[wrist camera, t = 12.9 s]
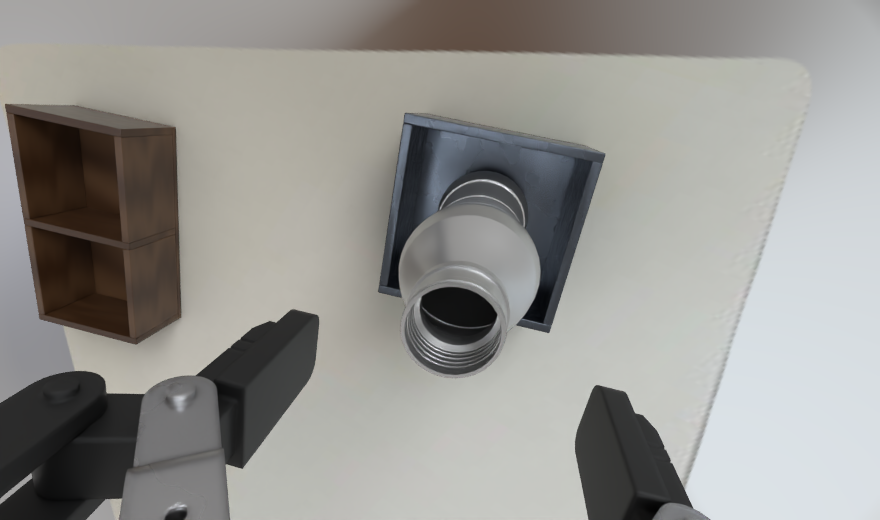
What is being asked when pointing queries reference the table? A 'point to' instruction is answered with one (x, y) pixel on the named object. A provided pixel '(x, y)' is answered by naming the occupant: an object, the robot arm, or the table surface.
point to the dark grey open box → (513, 155)
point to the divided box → (99, 218)
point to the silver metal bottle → (467, 276)
